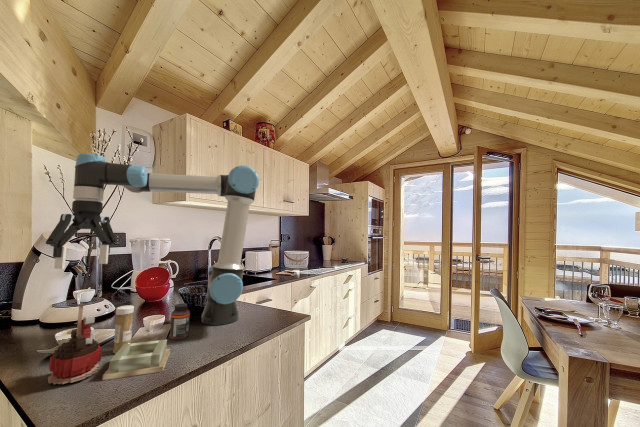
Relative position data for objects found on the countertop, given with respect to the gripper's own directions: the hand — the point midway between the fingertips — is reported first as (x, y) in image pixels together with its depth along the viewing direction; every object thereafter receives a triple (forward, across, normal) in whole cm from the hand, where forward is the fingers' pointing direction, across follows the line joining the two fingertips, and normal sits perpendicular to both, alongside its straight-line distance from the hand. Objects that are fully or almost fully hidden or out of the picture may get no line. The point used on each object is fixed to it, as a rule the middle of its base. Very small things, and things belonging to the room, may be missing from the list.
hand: (83, 266), depth 85 cm
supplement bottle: (+26, -14, +25) cm, 39 cm away
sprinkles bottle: (+26, -1, +15) cm, 30 cm away
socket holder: (+26, +6, +28) cm, 39 cm away
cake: (+26, +14, +17) cm, 34 cm away
